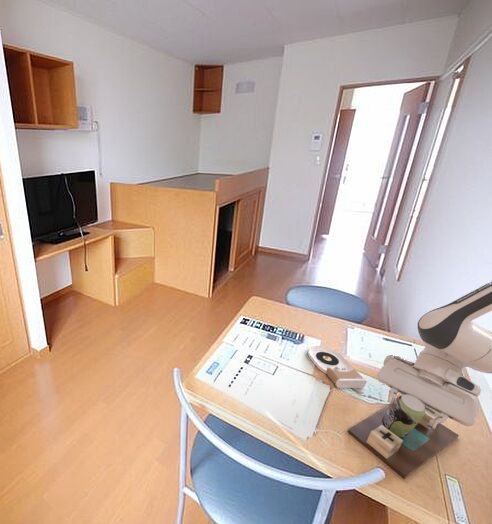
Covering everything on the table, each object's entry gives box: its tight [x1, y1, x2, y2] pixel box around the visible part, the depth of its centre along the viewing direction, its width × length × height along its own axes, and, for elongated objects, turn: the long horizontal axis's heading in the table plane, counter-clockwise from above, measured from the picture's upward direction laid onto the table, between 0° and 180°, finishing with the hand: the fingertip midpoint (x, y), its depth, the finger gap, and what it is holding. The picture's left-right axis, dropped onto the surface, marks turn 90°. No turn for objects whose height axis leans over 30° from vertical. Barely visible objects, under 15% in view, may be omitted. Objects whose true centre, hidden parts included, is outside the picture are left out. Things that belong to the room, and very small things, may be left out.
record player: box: [307, 345, 367, 389], centre depth 109 cm, size 12×3×20 cm
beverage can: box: [382, 394, 425, 437], centre depth 82 cm, size 6×7×12 cm
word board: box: [347, 405, 460, 480], centre depth 83 cm, size 26×14×5 cm, turn 115°
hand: (410, 416), depth 81 cm, fingers open, 7 cm apart
